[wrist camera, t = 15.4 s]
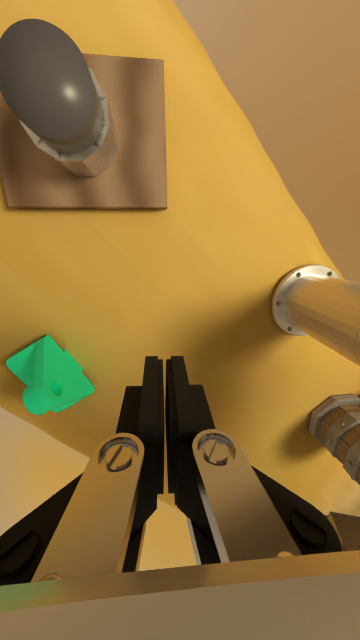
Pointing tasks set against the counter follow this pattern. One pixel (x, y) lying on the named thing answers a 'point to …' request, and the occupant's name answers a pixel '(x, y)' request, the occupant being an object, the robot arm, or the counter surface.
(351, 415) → the tankard
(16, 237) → the counter surface
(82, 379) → the camera mount
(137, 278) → the counter surface
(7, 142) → the pipe flange plate
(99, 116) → the grey sphere
